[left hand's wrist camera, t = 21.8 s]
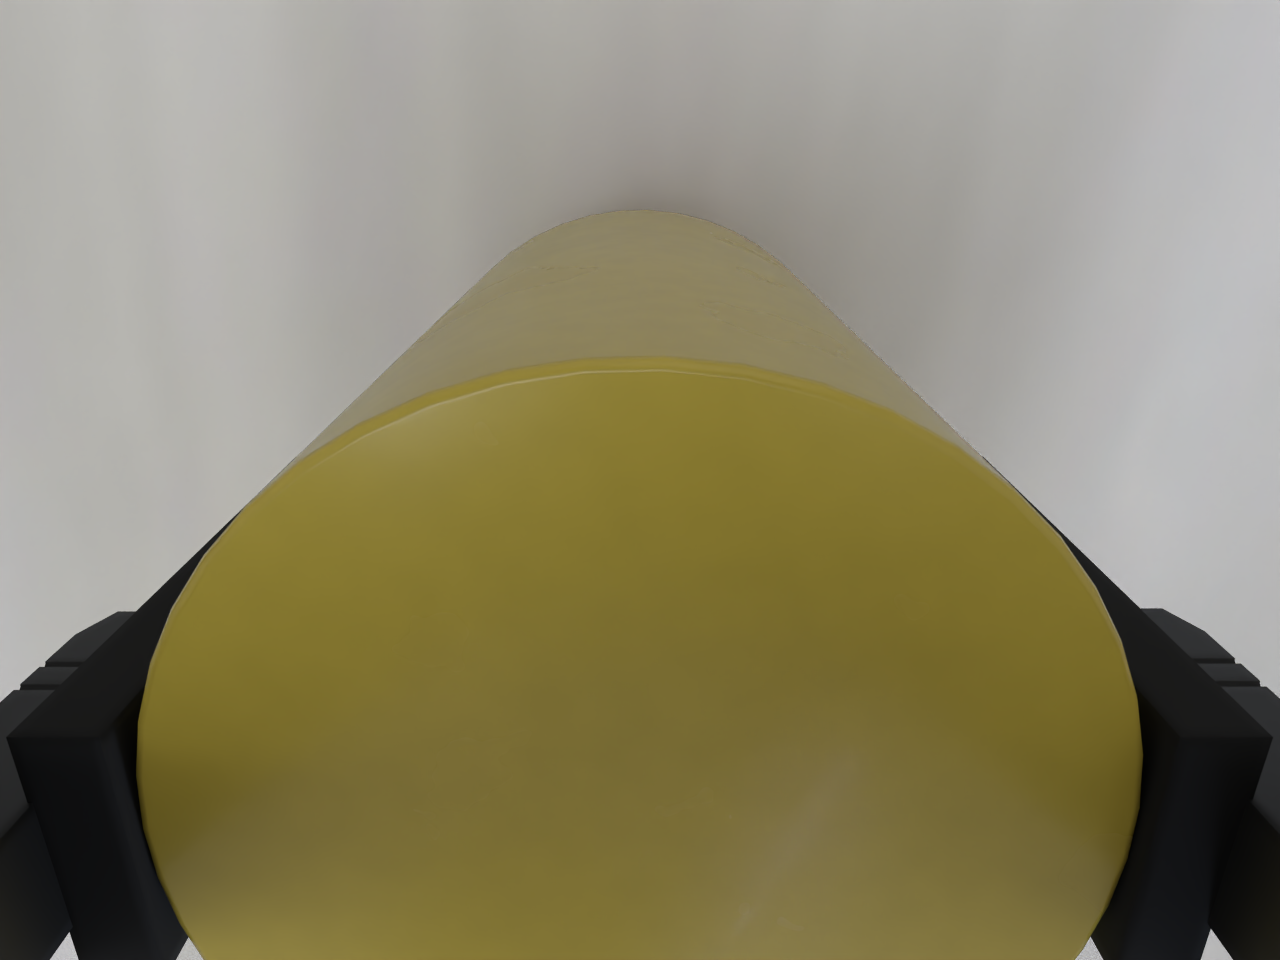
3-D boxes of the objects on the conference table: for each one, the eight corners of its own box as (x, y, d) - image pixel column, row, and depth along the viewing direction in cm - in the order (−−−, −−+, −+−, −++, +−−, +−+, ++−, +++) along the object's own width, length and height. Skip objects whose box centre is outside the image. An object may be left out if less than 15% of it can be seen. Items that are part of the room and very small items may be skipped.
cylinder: (925, 324, 18) (1376, 636, 7) (730, 658, 21) (830, 1245, 10) (525, 129, 17) (301, 135, 6) (376, 516, 19) (40, 1016, 9)
